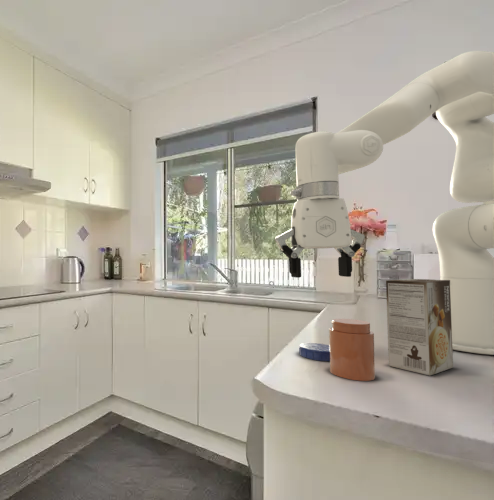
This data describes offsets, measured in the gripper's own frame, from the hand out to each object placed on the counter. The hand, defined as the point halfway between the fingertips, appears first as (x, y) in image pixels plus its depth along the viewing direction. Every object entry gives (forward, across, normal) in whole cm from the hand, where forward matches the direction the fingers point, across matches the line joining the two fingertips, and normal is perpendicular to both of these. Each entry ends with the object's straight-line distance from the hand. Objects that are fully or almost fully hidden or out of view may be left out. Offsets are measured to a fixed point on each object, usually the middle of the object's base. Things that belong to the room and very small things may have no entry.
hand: (320, 276), depth 69 cm
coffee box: (+17, +14, -6) cm, 23 cm away
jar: (+16, -1, -11) cm, 19 cm away
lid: (+15, -1, 0) cm, 15 cm away
